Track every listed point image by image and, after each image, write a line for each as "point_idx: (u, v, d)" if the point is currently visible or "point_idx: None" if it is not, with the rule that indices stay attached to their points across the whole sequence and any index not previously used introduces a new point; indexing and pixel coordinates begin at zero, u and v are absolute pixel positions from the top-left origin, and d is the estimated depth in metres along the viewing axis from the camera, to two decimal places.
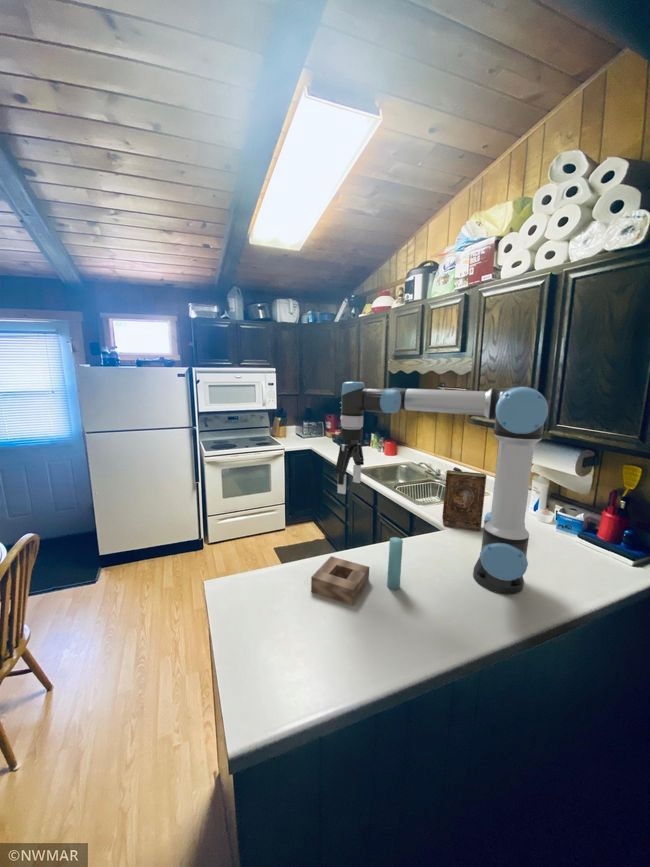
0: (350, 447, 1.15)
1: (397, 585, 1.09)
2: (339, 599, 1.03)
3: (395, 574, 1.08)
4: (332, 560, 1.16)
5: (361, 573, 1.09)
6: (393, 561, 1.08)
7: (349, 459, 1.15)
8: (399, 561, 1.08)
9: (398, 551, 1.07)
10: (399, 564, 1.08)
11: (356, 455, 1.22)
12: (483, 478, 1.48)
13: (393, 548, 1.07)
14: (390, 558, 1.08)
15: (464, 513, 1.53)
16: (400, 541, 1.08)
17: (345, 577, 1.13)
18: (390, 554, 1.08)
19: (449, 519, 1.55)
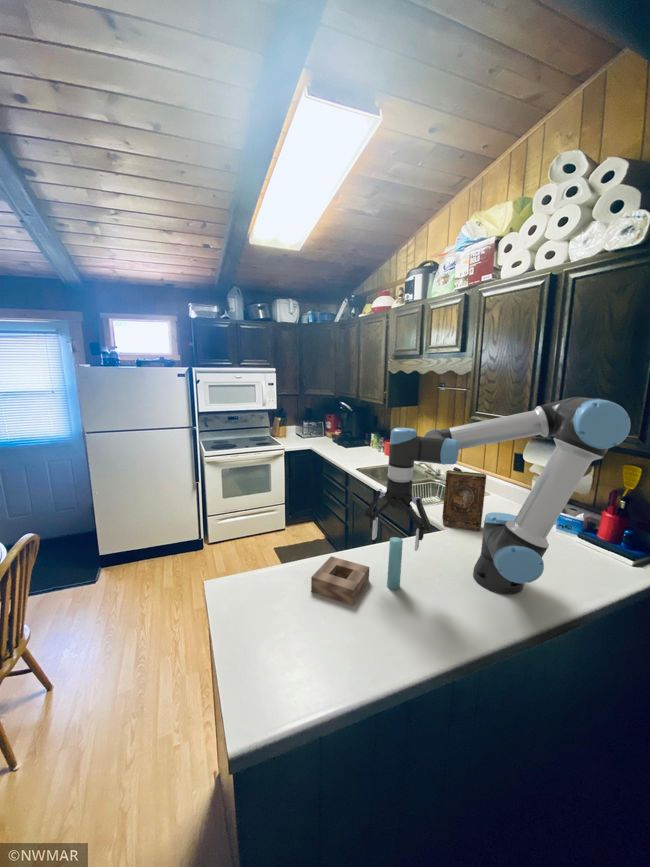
0: (387, 497, 1.06)
1: (397, 585, 1.09)
2: (339, 599, 1.03)
3: (395, 574, 1.08)
4: (332, 560, 1.16)
5: (361, 573, 1.09)
6: (393, 561, 1.08)
7: (384, 508, 1.07)
8: (399, 561, 1.08)
9: (398, 551, 1.07)
10: (399, 564, 1.08)
11: None
12: (483, 478, 1.48)
13: (393, 548, 1.07)
14: (390, 558, 1.08)
15: (464, 513, 1.53)
16: (400, 541, 1.08)
17: (345, 577, 1.13)
18: (390, 554, 1.08)
19: (449, 519, 1.55)
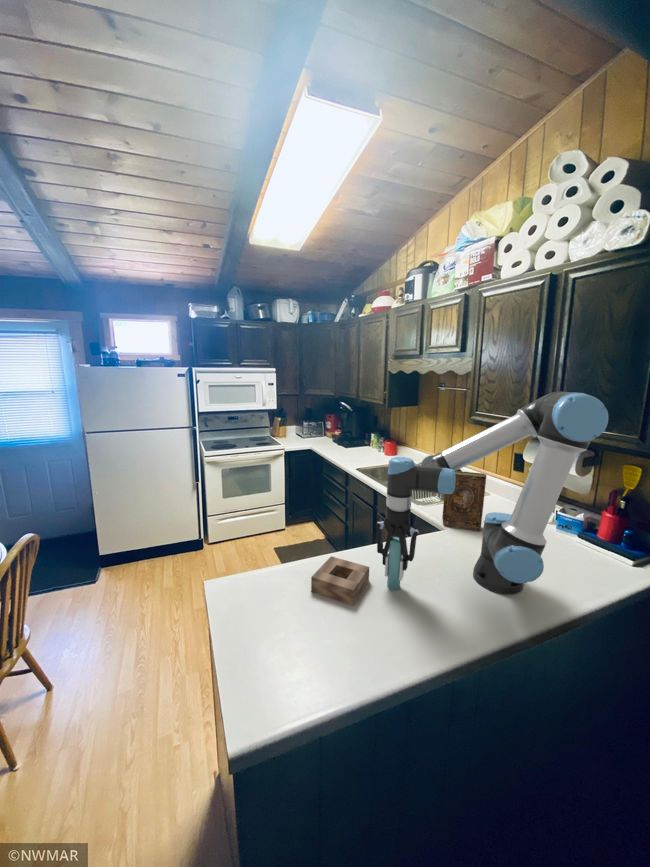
0: (387, 525, 1.08)
1: (397, 585, 1.09)
2: (339, 599, 1.03)
3: (395, 574, 1.08)
4: (332, 560, 1.16)
5: (361, 573, 1.09)
6: (393, 561, 1.08)
7: (389, 540, 1.08)
8: (399, 561, 1.08)
9: (398, 551, 1.07)
10: (399, 564, 1.08)
11: None
12: (483, 478, 1.48)
13: (393, 548, 1.07)
14: (390, 558, 1.08)
15: (464, 513, 1.53)
16: None
17: (345, 577, 1.13)
18: (390, 554, 1.08)
19: (449, 519, 1.55)
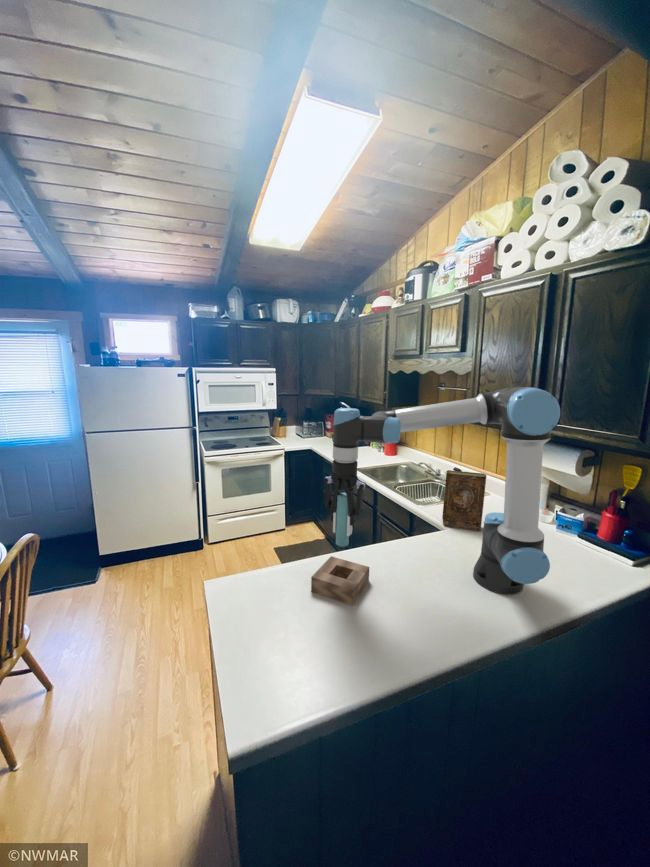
0: (334, 479, 1.05)
1: (345, 541, 1.06)
2: (339, 599, 1.03)
3: (342, 530, 1.05)
4: (332, 560, 1.16)
5: (361, 573, 1.09)
6: (340, 516, 1.05)
7: (336, 494, 1.05)
8: (346, 516, 1.05)
9: (345, 505, 1.04)
10: (346, 519, 1.05)
11: None
12: (483, 478, 1.48)
13: (340, 503, 1.04)
14: (337, 513, 1.05)
15: (464, 513, 1.53)
16: None
17: (345, 577, 1.13)
18: (337, 509, 1.05)
19: (449, 519, 1.55)
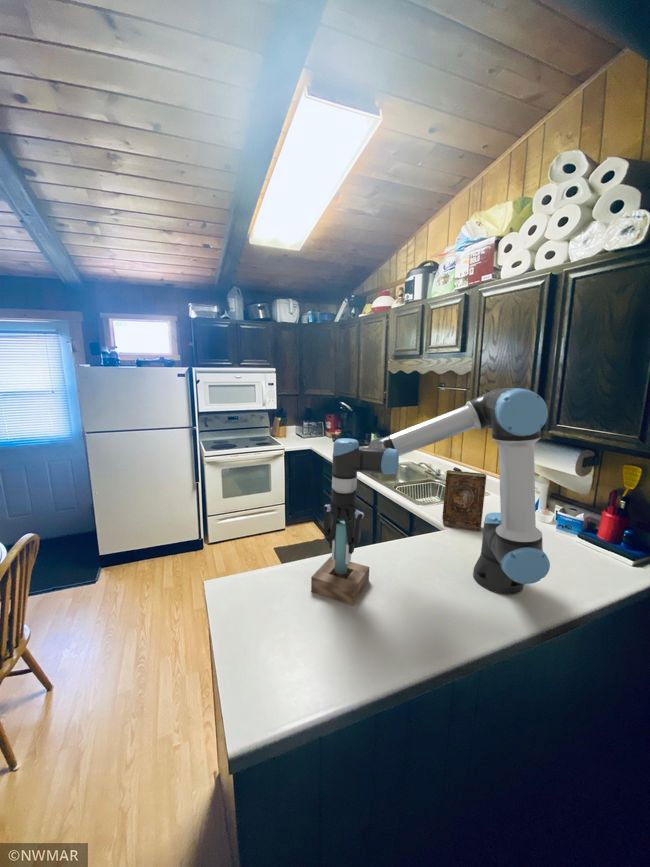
0: (333, 507, 1.06)
1: (344, 569, 1.08)
2: (339, 599, 1.03)
3: (341, 558, 1.07)
4: (332, 560, 1.16)
5: (361, 573, 1.09)
6: (339, 544, 1.06)
7: (335, 523, 1.07)
8: (345, 545, 1.06)
9: (344, 534, 1.05)
10: (345, 548, 1.07)
11: None
12: (483, 478, 1.48)
13: (339, 532, 1.06)
14: (336, 542, 1.07)
15: (464, 513, 1.53)
16: None
17: (345, 577, 1.13)
18: (336, 538, 1.07)
19: (449, 519, 1.55)
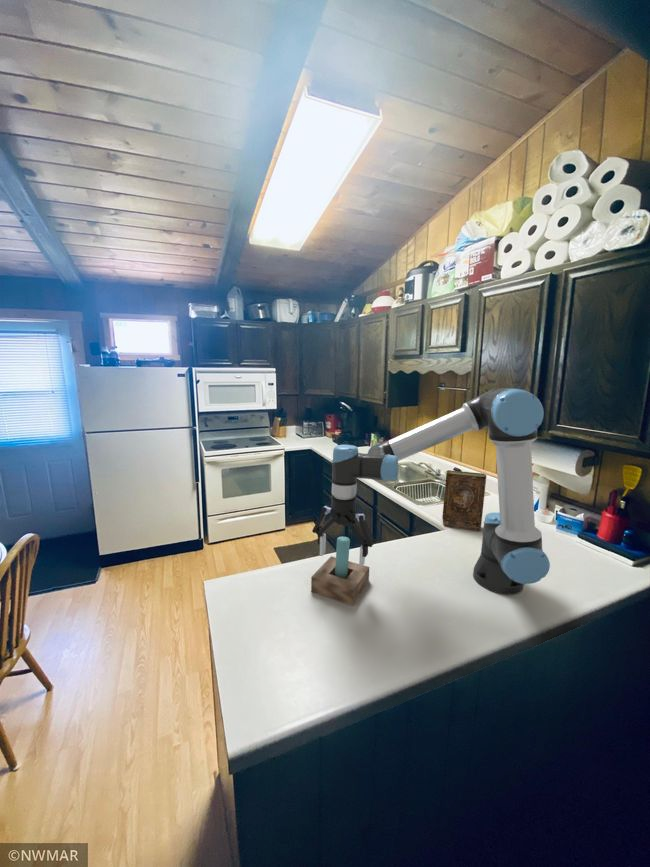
0: (332, 513, 1.07)
1: None
2: (339, 599, 1.03)
3: (341, 573, 1.08)
4: (332, 560, 1.16)
5: (361, 573, 1.09)
6: (339, 560, 1.07)
7: (329, 525, 1.08)
8: (345, 560, 1.07)
9: (344, 550, 1.06)
10: (345, 563, 1.08)
11: None
12: (483, 478, 1.48)
13: (339, 548, 1.06)
14: (337, 557, 1.08)
15: (464, 513, 1.53)
16: (347, 540, 1.07)
17: None
18: (337, 553, 1.08)
19: (449, 519, 1.55)
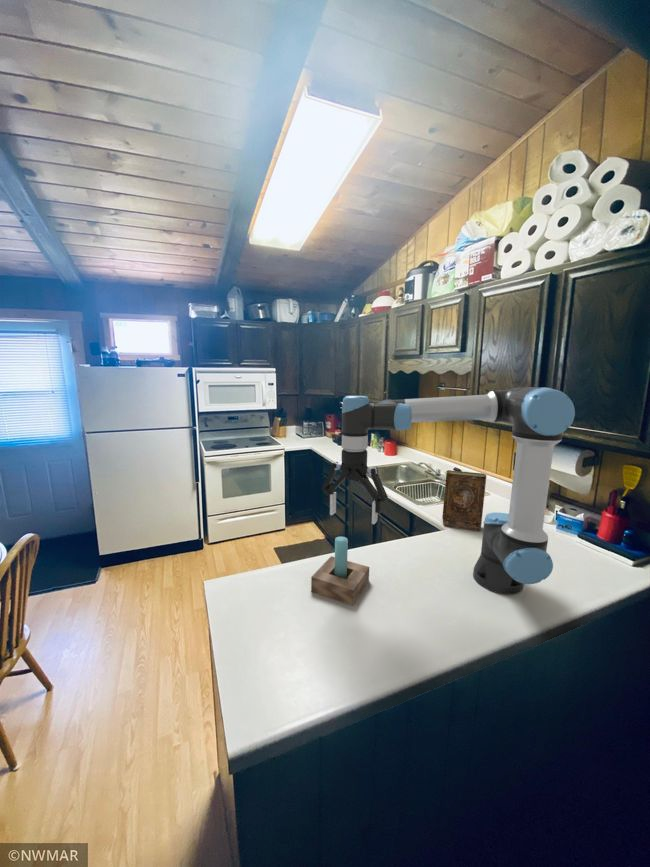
0: (343, 469, 1.02)
1: None
2: (339, 599, 1.03)
3: (340, 573, 1.08)
4: (332, 560, 1.16)
5: (361, 573, 1.09)
6: (338, 560, 1.07)
7: (340, 481, 1.03)
8: (344, 560, 1.07)
9: (343, 550, 1.06)
10: (344, 563, 1.08)
11: None
12: (483, 478, 1.48)
13: (338, 548, 1.07)
14: (335, 557, 1.08)
15: (464, 513, 1.53)
16: (345, 540, 1.07)
17: None
18: (335, 553, 1.08)
19: (449, 519, 1.55)
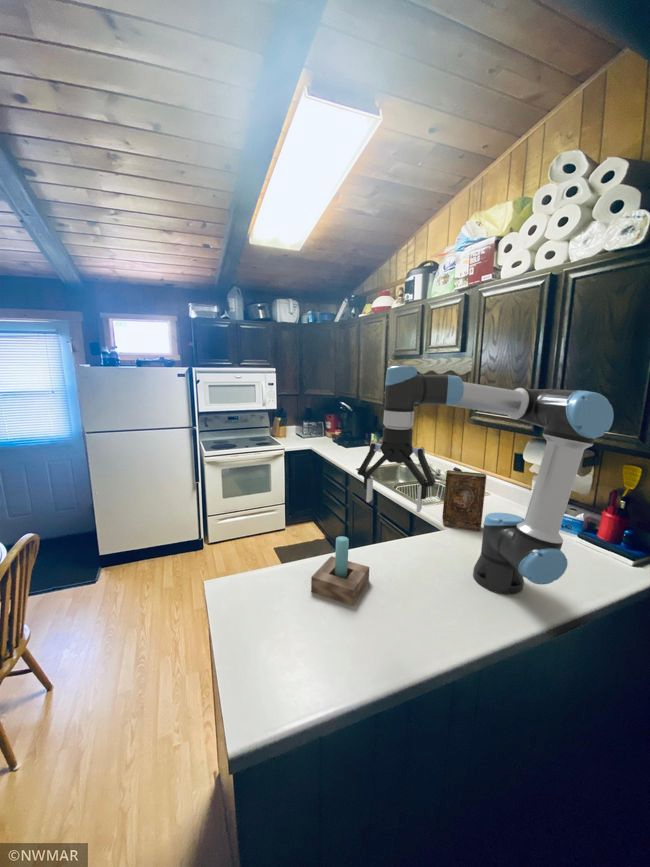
0: (384, 450, 0.90)
1: None
2: (339, 599, 1.03)
3: (341, 573, 1.08)
4: (332, 560, 1.16)
5: (361, 573, 1.09)
6: (339, 560, 1.07)
7: (380, 464, 0.91)
8: (345, 560, 1.07)
9: (343, 550, 1.07)
10: (345, 563, 1.08)
11: None
12: (483, 478, 1.48)
13: (338, 547, 1.07)
14: (336, 557, 1.08)
15: (464, 513, 1.53)
16: (346, 540, 1.07)
17: None
18: (336, 553, 1.08)
19: (449, 519, 1.55)
